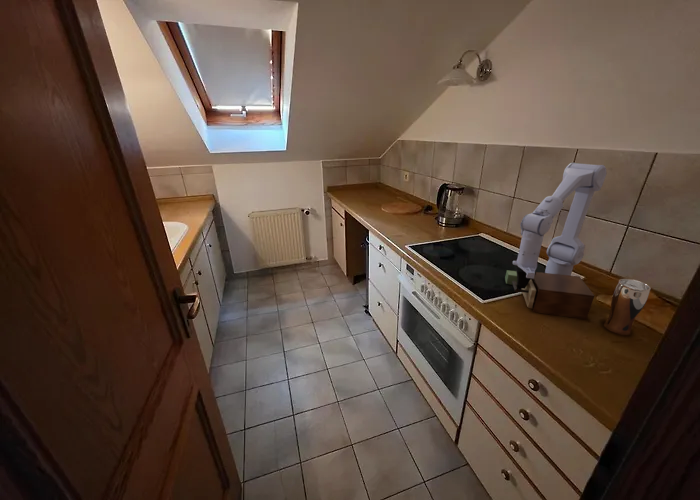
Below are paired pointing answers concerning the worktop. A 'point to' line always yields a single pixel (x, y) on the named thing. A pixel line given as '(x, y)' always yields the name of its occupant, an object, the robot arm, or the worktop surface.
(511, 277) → the block
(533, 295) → the drawer
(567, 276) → the cabinet
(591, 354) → the worktop surface
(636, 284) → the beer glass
